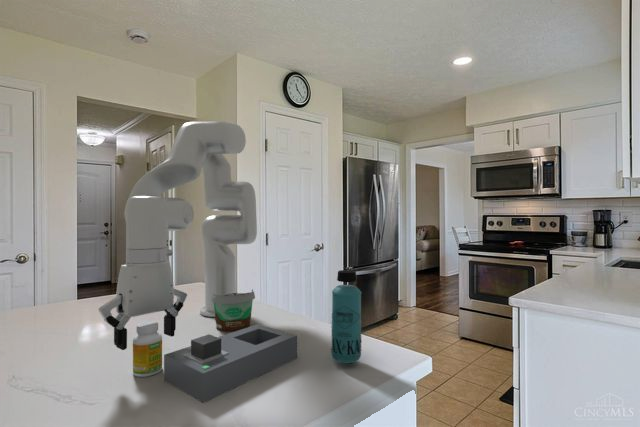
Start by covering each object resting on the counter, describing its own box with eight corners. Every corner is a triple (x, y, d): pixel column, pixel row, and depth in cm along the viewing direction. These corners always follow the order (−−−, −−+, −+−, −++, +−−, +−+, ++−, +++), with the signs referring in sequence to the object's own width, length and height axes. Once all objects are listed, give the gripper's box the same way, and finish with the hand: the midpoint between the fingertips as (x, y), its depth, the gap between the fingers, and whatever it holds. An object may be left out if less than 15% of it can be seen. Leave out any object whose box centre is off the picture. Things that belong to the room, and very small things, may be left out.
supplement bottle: (150, 378, 70) (150, 329, 70) (126, 376, 71) (126, 327, 71) (167, 367, 75) (167, 320, 75) (145, 365, 76) (144, 319, 76)
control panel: (258, 344, 88) (257, 311, 88) (297, 357, 80) (297, 321, 80) (164, 380, 69) (163, 339, 69) (203, 402, 61) (203, 355, 61)
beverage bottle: (329, 358, 79) (329, 268, 79) (359, 357, 80) (358, 267, 80) (333, 371, 73) (332, 273, 73) (365, 369, 73) (364, 272, 73)
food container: (215, 336, 94) (215, 298, 94) (211, 329, 99) (210, 293, 99) (260, 329, 99) (260, 293, 99) (254, 323, 105) (254, 289, 105)
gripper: (176, 252, 82) (176, 327, 82) (92, 259, 68) (91, 349, 68) (195, 254, 77) (195, 334, 77) (108, 262, 64) (107, 359, 63)
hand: (146, 341), depth 73 cm, fingers open, 9 cm apart
